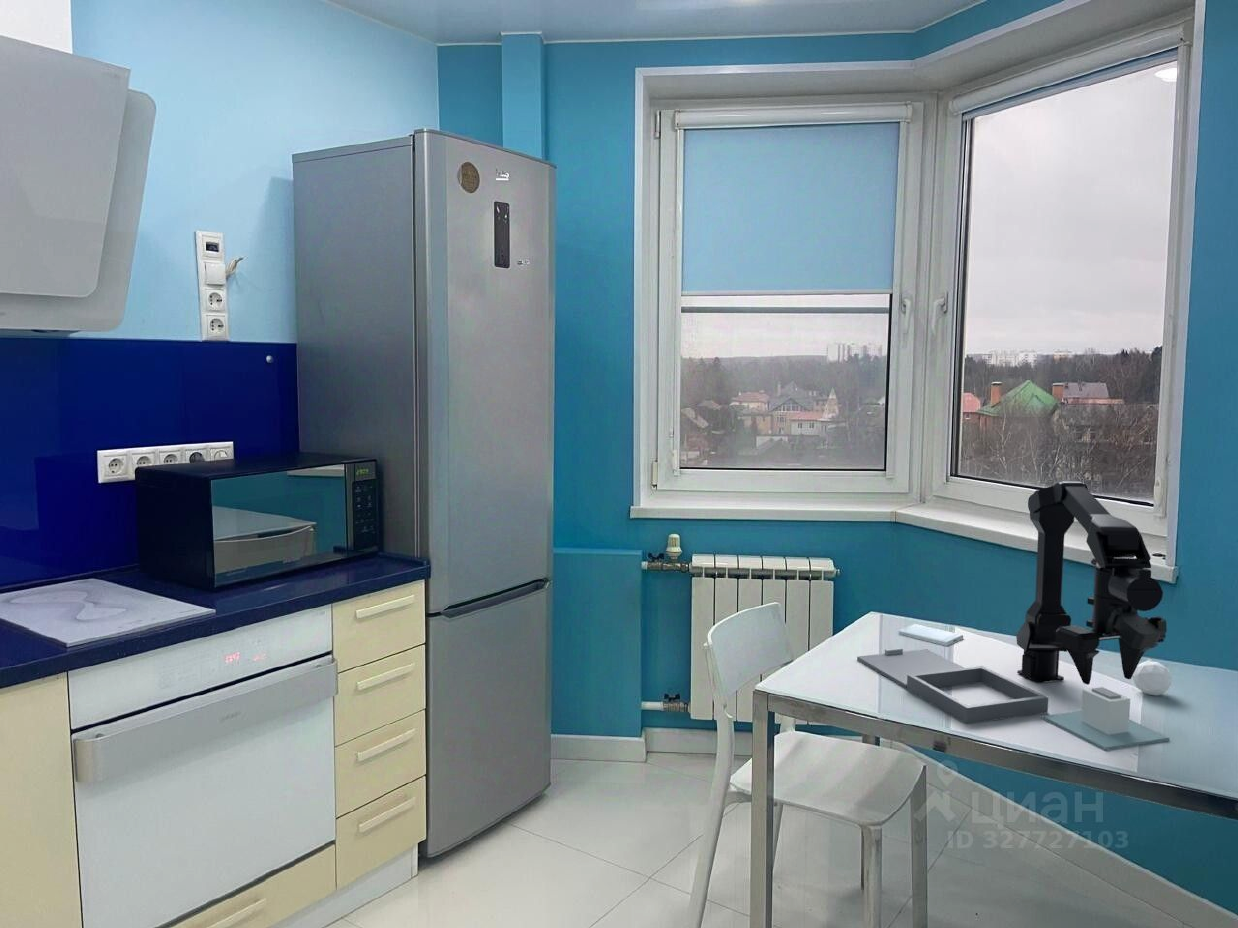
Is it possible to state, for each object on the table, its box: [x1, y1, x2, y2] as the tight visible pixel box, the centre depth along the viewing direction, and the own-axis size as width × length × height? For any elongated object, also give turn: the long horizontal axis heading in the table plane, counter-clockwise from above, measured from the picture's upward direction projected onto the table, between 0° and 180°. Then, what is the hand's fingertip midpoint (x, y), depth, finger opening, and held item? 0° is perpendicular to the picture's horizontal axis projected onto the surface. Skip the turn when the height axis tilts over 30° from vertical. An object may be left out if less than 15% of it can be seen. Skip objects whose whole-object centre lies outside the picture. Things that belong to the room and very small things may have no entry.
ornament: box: [1132, 658, 1172, 696], centre depth 169 cm, size 6×7×7 cm
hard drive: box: [898, 623, 964, 647], centre depth 207 cm, size 2×8×12 cm
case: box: [856, 647, 1049, 725], centre depth 175 cm, size 18×36×3 cm, turn 16°
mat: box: [1042, 710, 1170, 751], centre depth 152 cm, size 14×14×1 cm
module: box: [1080, 686, 1131, 735], centre depth 152 cm, size 4×6×6 cm
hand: (1107, 681), depth 151 cm, fingers open, 9 cm apart
